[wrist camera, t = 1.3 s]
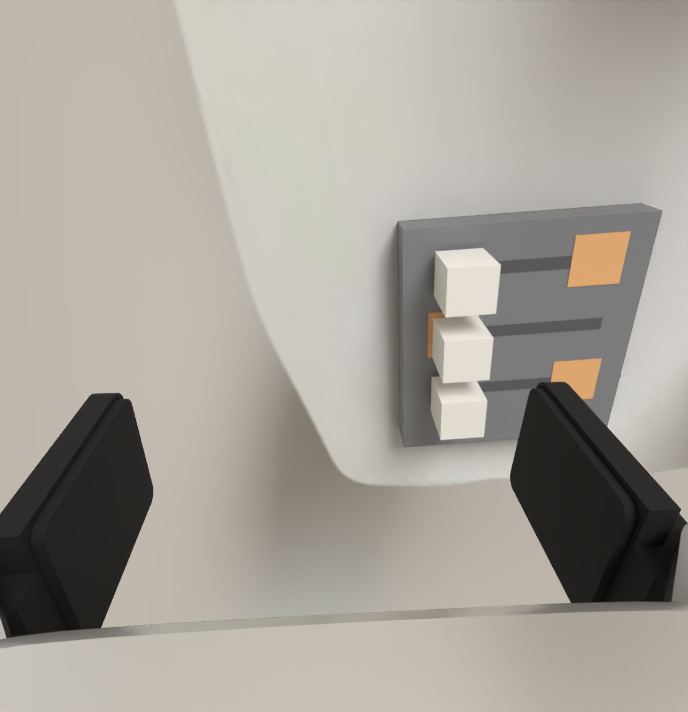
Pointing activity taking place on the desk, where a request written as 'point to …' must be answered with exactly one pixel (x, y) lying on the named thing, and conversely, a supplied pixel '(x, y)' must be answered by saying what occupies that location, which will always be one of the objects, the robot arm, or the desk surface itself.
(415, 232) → the switch panel
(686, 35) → the desk surface
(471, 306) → the near slider knob
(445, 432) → the far slider knob
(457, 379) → the middle slider knob
